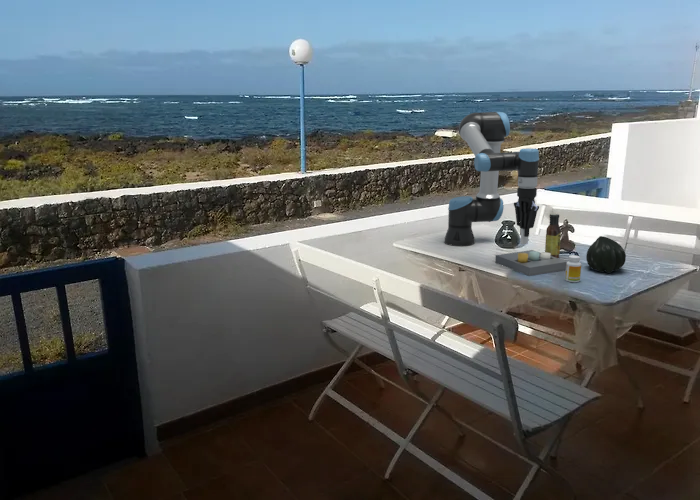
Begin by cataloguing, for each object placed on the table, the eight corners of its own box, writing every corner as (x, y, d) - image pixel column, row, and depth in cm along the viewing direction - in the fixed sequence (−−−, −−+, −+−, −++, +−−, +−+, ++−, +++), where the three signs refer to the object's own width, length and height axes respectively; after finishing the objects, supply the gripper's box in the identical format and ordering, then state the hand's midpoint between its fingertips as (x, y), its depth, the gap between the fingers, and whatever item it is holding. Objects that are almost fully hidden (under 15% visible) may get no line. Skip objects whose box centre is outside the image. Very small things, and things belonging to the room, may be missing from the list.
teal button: (527, 260, 225) (527, 251, 224) (534, 259, 227) (535, 250, 226) (533, 263, 222) (534, 253, 221) (541, 261, 223) (541, 252, 222)
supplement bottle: (583, 281, 205) (585, 257, 202) (571, 283, 203) (573, 259, 201) (573, 277, 210) (575, 254, 207) (562, 279, 208) (563, 255, 205)
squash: (639, 260, 212) (619, 228, 218) (615, 267, 206) (595, 234, 211) (614, 275, 224) (595, 245, 229) (590, 282, 217) (571, 251, 223)
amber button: (515, 262, 223) (516, 253, 222) (523, 261, 225) (523, 252, 224) (521, 264, 220) (522, 255, 219) (529, 263, 221) (530, 254, 220)
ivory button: (538, 261, 228) (538, 252, 227) (545, 260, 229) (546, 251, 228) (544, 264, 224) (545, 254, 223) (552, 262, 226) (552, 253, 225)
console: (495, 262, 233) (495, 255, 232) (531, 257, 240) (532, 249, 239) (529, 275, 213) (529, 267, 212) (567, 269, 220) (568, 261, 219)
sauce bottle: (560, 259, 236) (563, 215, 231) (545, 259, 237) (548, 215, 232) (557, 255, 242) (561, 213, 237) (543, 255, 243) (546, 212, 238)
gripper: (509, 186, 219) (506, 241, 224) (530, 189, 207) (527, 248, 213) (523, 184, 221) (520, 239, 227) (545, 188, 210) (542, 245, 215)
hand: (524, 243), depth 220 cm, fingers closed
